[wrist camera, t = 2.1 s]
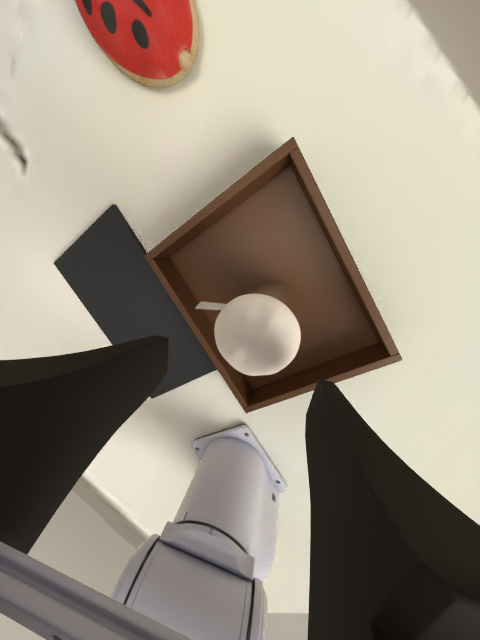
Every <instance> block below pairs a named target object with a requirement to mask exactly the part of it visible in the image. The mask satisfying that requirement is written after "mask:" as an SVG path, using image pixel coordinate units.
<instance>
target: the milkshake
mask: <svg viewBox="0 0 480 640" xmlns="http://www.w3.org/2000/svg"><path fill="white" fill-rule="evenodd" d="M196 309H207V310H221V312H220V313H219V315H218V317H217V319H216V322H215V327H214V335H215V341H216V345H217V347H218V350H219V352H220V353H221V355H222V356H223V357H224V358H225V360H226V361H227V362H228V363H229V364H230V365H231V366H232V367H233V368H235V369H236V370H238V371H239V372H241V373H243V374H246V375H250V376H259V375H271V374H274V373H277V372H279V371H280V370H282V369H283V368H285V367H286V366H287V365H288V364H289V363H290V362H291V361H292V360H293V359H294V357H295V356H296V354H297V352H298V349H299V345H300V340H301V332H300V327H299V324H298V321H297V319H296V316H295V313H294V310H293V306H292V302H291V297H290V293H289V292H288V291H287V290H286V289H285V288H284V287H283V286H282V285H281V284H277V283H271V282H268V283H266V284H264V285H262V286H260V287H258V288H256V289H255V290H253V291H251V292H248V293H246V294H244V295H242V296H239V297H237V298H235V299H233V300H232V301H230V302H229V303H228V304H223V303H212V302H200V303H199V304H198V305H197V306H196Z"/></svg>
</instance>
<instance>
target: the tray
mask: <svg viewBox="0 0 480 640" xmlns="http://www.w3.org/2000/svg"><path fill="white" fill-rule="evenodd" d="M144 257H145V259H146V260H147V262H149V265H150V266H151V268H152V269H153V271H154V272H155V274H156V275H157V277H158V278H159V280H160V281H161V283H162V285H163V286H164V288H165V289H166V291H167V292H168V294H169V295H170V297H171V298H172V300H173V302H174V303H175V305H176V306H177V308H178V309H179V311H180V312H181V314H182V315H183V317H184V318H185V320H186V322H187V323H188V325H189V326H190V328H191V329H192V331H193V332H194V334H195V335H196V337H197V338H198V340H199V342H200V343H201V345H202V346H203V348H204V349H205V351H206V352H207V354H208V355H209V357H210V359H211V360H212V362H213V363H214V365H215V366H216V368H217V369H218V371H219V372H220V374H221V375H222V377H223V379H224V380H225V382H226V383H227V385H228V386H229V388H230V389H231V391H232V392H233V394H234V396H235V397H236V399H237V400H238V402H239V403H240V405H241V406H242V408H243V409H244V411H245V412H246V413H248V412H251V411H254V410H257V409H260V408H263V407H266V406H269V405H272V404H275V403H278V402H280V401H283V400H286V399H289V398H292V397H295V396H298V395H301V394H304V393H307V392H310V391H313V390H315V387H316V384H317V381H318V378H320V379H324V380H327V381H331V382H333V383H336V382H339V381H342V380H345V379H348V378H351V377H354V376H357V375H360V374H363V373H366V372H369V371H372V370H375V369H378V368H381V367H384V366H386V365H389V364H392V363H395V362H398V361H401V360H402V358H401V356H400V354H399V352H398V350H397V348H396V345H395V343H394V341H393V339H392V337H391V335H390V333H389V331H388V329H387V327H386V325H385V323H384V321H383V319H382V317H381V315H380V313H379V311H378V309H377V307H376V305H375V303H374V300H373V298H372V296H371V294H370V292H369V290H368V288H367V286H366V284H365V282H364V280H363V278H362V276H361V274H360V272H359V270H358V268H357V266H356V264H355V262H354V260H353V257H352V255H351V253H350V251H349V249H348V247H347V245H346V243H345V241H344V239H343V237H342V235H341V233H340V231H339V229H338V227H337V225H336V223H335V221H334V219H333V217H332V215H331V212H330V210H329V208H328V206H327V204H326V202H325V200H324V198H323V196H322V194H321V192H320V190H319V188H318V186H317V184H316V182H315V180H314V178H313V176H312V174H311V172H310V170H309V167H308V165H307V163H306V161H305V159H304V157H303V155H302V153H301V151H300V149H299V147H298V145H297V143H296V141H295V139H294V137H292V138H291V139H290V140H288V141H287V142H286V143H285V144H283V145H282V146H281V147H280V148H278V149H277V150H276V151H275V152H273V153H272V154H271V155H270V156H268V157H267V158H266V159H265V160H263V161H262V162H261V163H260V164H258V165H257V166H256V167H255V168H253V169H252V170H251V171H250V172H248V173H247V174H246V175H245V176H243V177H242V178H241V179H240V180H238V181H237V182H236V183H235V184H233V185H232V186H231V187H230V188H228V189H227V190H226V191H225V192H223V193H222V194H221V195H220V196H218V197H217V198H216V199H215V200H213V201H212V202H211V203H210V204H208V205H207V206H206V207H205V208H203V209H202V210H201V211H200V212H198V213H197V214H196V215H195V216H193V217H192V218H191V219H190V220H188V221H187V222H186V223H185V224H183V225H182V226H181V227H180V228H178V229H177V230H176V231H175V232H173V233H172V234H171V235H170V236H168V237H167V238H166V239H165V240H163V241H162V242H161V243H160V244H158V245H157V246H156V247H155V248H153V249H152V250H151V251H150V252H148V253H147V254H146V255H145V256H144ZM268 282H271V283H277V284H281V285H282V286H283V287H284V288H285V289H286V290H287V291H288V292H289V293H290V297H291V302H292V306H293V310H294V313H295V316H296V319H297V321H298V324H299V327H300V332H301V340H300V345H299V349H298V352H297V354H296V356H295V357H294V359H293V360H292V361H291V362H290V363H289V364H288V365H287V366H286V367H285V368H283V369H282V370H280V371H279V372H277V373H274V374H271V375H259V376H250V375H246V374H243V373H241V372H239V371H238V370H236V369H235V368H233V367H232V366H231V365H230V364H229V363H228V362H227V361H226V360H225V358H224V357H223V356H222V355H221V353H220V352H219V350H218V347H217V345H216V341H215V335H214V327H215V322H216V319H217V317H218V315H219V313H220V312H221V310H207V309H196V306H197V305H198V304H199V303H200V302H212V303H223V304H228V303H229V302H230V301H232V300H233V299H235V298H237V297H239V296H242V295H244V294H246V293H248V292H251V291H253V290H255V289H256V288H258V287H260V286H262V285H264V284H266V283H268Z"/></svg>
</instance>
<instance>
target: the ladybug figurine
mask: <svg viewBox="0 0 480 640" xmlns="http://www.w3.org/2000/svg"><path fill="white" fill-rule="evenodd" d="M75 1H76V4H77V6H78V9H79V11H80V13H81V16H82V18H83V20H84V22H85V24H86V26H87V27H88V29H89V31H90V33H91V34H92V36H93V38H94V39H95V41H96V42H97V44H98V45H99V47H100V48H101V49H102V51H103V52H104V53H105V54H106V56H107V57H108V58H109V59H110V60H111V61H112V63H113V64H114V65H115V66H116V67H117V68H118V69H119V70H121V71H122V72H123V73H124V74H125V75H127V76H128V77H130V78H131V79H133V80H134V81H136V82H138V83H140V84H143V85H146V86H150V87H156V88H164V87H169V86H172V85H174V84H176V83H178V82H179V81H181V80H182V79H183V78H184V77H185V76H186V74H187V73H188V72H189V71H190V69H191V67H192V65H193V63H194V61H195V58H196V54H197V51H198V45H199V20H198V13H197V8H196V4H195V0H75Z"/></svg>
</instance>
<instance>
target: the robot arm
mask: <svg viewBox="0 0 480 640" xmlns="http://www.w3.org/2000/svg"><path fill="white" fill-rule="evenodd" d="M168 348H169V338H166V337H163V336H159V335H156V336H150V337H145V338H141V339H137V340H133V341H129V342H125V343H121V344H117V345H112V346H108V347H103V348H99V349H94V350H90V351H84V352H79V353H72V354H66V355H59V356H50V357H40V358H30V359H18V360H0V613H2V614H4V615H5V616H7V617H9V618H11V619H12V620H14V621H16V622H17V623H19V624H21V625H23V626H24V627H26V628H28V629H29V630H31V631H33V632H35V633H36V634H38V635H40V636H41V637H43V638H45V639H46V640H266V630H267V596H266V593H265V591H264V588H263V584H262V582H263V581H264V579H265V578H266V576H267V574H268V572H269V570H270V568H271V565H272V562H273V559H274V554H275V544H276V530H277V517H278V504H279V492H284V491H286V488H287V486H286V484H285V482H284V481H283V479H282V478H281V476H280V475H279V473H278V472H277V470H276V469H275V467H274V466H273V464H272V463H271V461H270V459H269V458H268V456H267V455H266V453H265V452H264V450H263V449H262V447H261V446H260V444H259V443H258V441H257V440H256V438H255V437H254V435H253V433H252V432H251V430H250V429H249V427H248V426H246V425H241V426H238V427H235V428H232V429H228V430H225V431H222V432H219V433H216V434H213V435H210V436H206V437H203V438H200V439H197V440H194V441H193V442H192V444H191V445H192V447H193V449H194V450H195V451H196V453H197V454H198V456H199V457H200V458H201V461H200V463H199V465H198V468H197V470H196V472H195V474H194V477H193V479H192V481H191V483H190V485H189V488H188V490H187V492H186V494H185V497H184V499H183V501H182V503H181V505H180V508H179V510H178V512H177V514H176V517H175V519H174V521H173V523H171V522H167V524H166V526H165V528H164V530H163V532H162V534H161V536H159V535H158V534H153V535H151V536H150V537H149V538H148V539H147V540H145V541H144V542H142V543H141V544H140V545H139V547H138V548H137V549H136V551H135V552H134V554H133V555H132V557H131V558H130V560H129V562H128V564H127V565H126V567H125V569H124V571H123V573H122V575H121V577H120V579H119V581H118V583H117V585H116V587H115V589H114V591H113V593H112V595H111V598H110V597H108V596H106V595H104V594H102V593H100V592H98V591H96V590H94V589H92V588H90V587H88V586H86V585H84V584H82V583H80V582H78V581H76V580H75V579H73V578H71V577H68V576H67V575H65V574H63V573H61V572H59V571H57V570H55V569H53V568H51V567H49V566H47V565H45V564H43V563H41V562H39V561H37V560H36V559H33V558H32V557H30V556H28V555H27V554H28V553H29V551H30V549H31V548H32V546H33V545H34V543H35V542H36V540H37V539H38V537H39V536H40V534H41V533H42V531H43V530H44V528H45V527H46V525H47V524H48V522H49V521H50V519H51V518H52V516H53V515H54V513H55V512H56V510H57V509H58V507H59V506H60V504H61V503H62V502H63V500H64V499H65V498H66V496H67V495H68V493H69V492H70V491H71V489H72V488H73V486H74V485H75V484H76V482H77V481H78V479H79V478H80V477H81V475H82V474H83V473H84V471H85V470H86V469H87V467H88V466H89V465H90V463H91V462H92V461H93V459H94V458H95V457H96V455H97V454H98V453H99V452H100V450H101V449H102V448H103V447H104V445H105V444H106V443H107V442H108V440H109V439H110V438H111V437H112V435H113V434H114V433H115V432H116V431H117V430H118V429H119V427H120V426H121V425H122V424H123V423H124V422H125V421H126V420H127V419H128V418H129V417H130V416H131V415H132V414H133V413H134V412H135V411H136V410H137V409H138V408H139V407H140V406H141V404H142V403H143V402H144V401H145V400H146V399H147V398H148V397H149V396H150V395H151V394H152V393H153V392H154V391H155V390H156V388H157V387H158V386H159V384H160V383H161V382H162V380H163V379H164V377H165V376H166V374H167V369H168ZM247 433H248V434H247ZM305 439H306V452H307V463H308V475H309V486H310V502H311V544H310V589H309V621H308V640H480V525H478V524H477V523H476V522H474V521H473V520H472V519H470V518H469V517H468V516H467V515H465V514H464V513H463V512H462V511H460V510H459V509H458V508H457V507H455V506H454V505H453V504H452V503H450V502H449V501H448V500H447V499H446V498H444V497H443V496H442V495H441V494H440V493H438V492H437V491H436V490H435V489H434V488H433V487H431V486H430V485H429V484H428V483H427V482H426V481H424V480H423V479H422V478H421V477H420V476H419V475H418V474H417V473H415V472H414V471H413V470H412V469H411V468H410V467H409V466H408V465H407V464H406V463H405V462H404V461H403V460H401V459H400V458H399V457H398V456H397V455H396V454H395V453H394V452H393V451H392V450H391V449H390V448H389V447H388V446H387V445H386V444H385V443H384V442H383V441H382V440H381V439H380V437H379V436H378V435H377V434H376V433H375V432H374V431H373V430H372V429H371V428H370V427H369V425H368V424H367V423H366V422H365V421H364V420H363V418H362V417H361V416H360V415H359V414H358V412H357V411H356V410H355V409H354V408H353V406H352V405H351V404H350V403H349V401H348V400H347V399H346V397H345V396H344V395H343V394H342V392H341V391H340V390H339V389H338V387H337V386H336V385H335V384H334V383H333V382H331V381H327V380H324V379H320V378H318V381H317V384H316V387H315V390H314V393H313V396H312V399H311V402H310V405H309V408H308V411H307V414H306V430H305Z"/></svg>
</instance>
